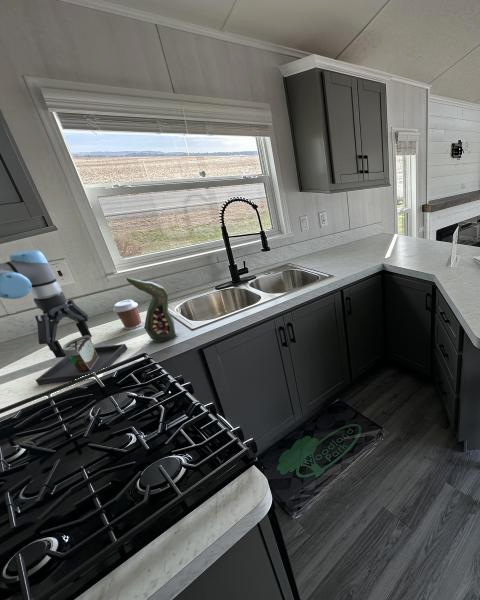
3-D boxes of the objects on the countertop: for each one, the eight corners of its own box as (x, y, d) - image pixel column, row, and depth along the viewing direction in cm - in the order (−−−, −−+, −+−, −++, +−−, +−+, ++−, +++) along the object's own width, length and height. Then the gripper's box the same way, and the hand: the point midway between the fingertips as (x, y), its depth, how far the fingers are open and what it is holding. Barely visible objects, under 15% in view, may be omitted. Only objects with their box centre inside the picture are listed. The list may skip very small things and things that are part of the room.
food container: (80, 359, 129) (68, 338, 125) (100, 355, 132) (89, 334, 127) (67, 377, 119) (54, 354, 115) (88, 372, 122) (76, 350, 117)
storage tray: (96, 378, 119) (93, 373, 118) (38, 385, 116) (35, 380, 115) (127, 348, 136) (125, 343, 135) (77, 354, 134) (75, 349, 133)
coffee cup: (122, 332, 149) (111, 309, 144) (121, 325, 155) (110, 302, 150) (146, 325, 154) (136, 302, 149) (144, 319, 161) (134, 296, 156)
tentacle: (147, 340, 142) (119, 276, 129) (178, 328, 151) (154, 267, 138) (155, 346, 137) (127, 280, 124) (186, 334, 146) (163, 271, 133)
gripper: (62, 282, 124) (86, 331, 133) (2, 311, 102) (36, 367, 111) (84, 281, 125) (107, 329, 134) (29, 309, 103) (61, 364, 112)
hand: (75, 346), depth 122 cm, fingers open, 13 cm apart
